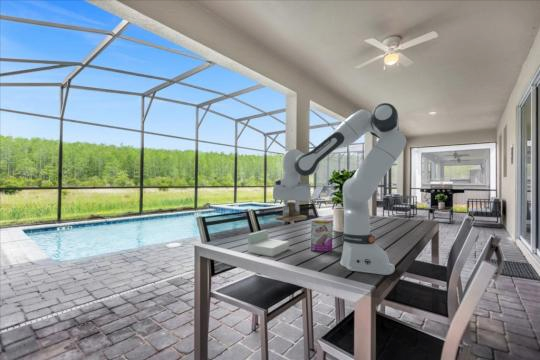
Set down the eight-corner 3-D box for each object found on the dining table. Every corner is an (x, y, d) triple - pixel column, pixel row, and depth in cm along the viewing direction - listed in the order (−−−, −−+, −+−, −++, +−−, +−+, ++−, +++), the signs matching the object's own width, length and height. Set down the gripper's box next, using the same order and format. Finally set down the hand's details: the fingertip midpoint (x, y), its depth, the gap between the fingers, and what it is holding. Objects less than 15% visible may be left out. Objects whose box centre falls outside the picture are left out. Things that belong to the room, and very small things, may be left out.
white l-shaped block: (288, 248, 143) (288, 232, 143) (272, 256, 129) (272, 238, 129) (265, 245, 152) (265, 229, 152) (247, 251, 137) (248, 234, 137)
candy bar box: (311, 251, 139) (311, 220, 139) (310, 248, 144) (310, 218, 144) (332, 252, 138) (332, 220, 138) (331, 249, 143) (331, 219, 143)
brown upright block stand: (306, 218, 135) (306, 202, 135) (289, 221, 125) (289, 204, 125) (292, 217, 141) (292, 201, 141) (275, 219, 131) (275, 202, 131)
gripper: (313, 181, 130) (313, 209, 130) (277, 181, 141) (277, 207, 141) (307, 181, 125) (307, 211, 125) (271, 181, 136) (271, 208, 136)
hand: (291, 209), depth 133 cm, fingers closed on brown upright block stand, 3 cm apart
